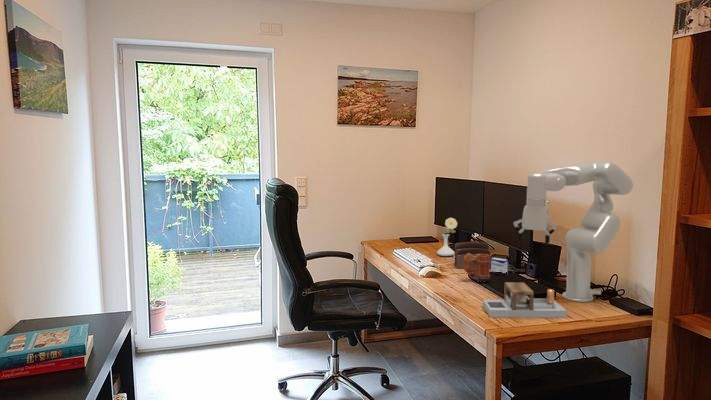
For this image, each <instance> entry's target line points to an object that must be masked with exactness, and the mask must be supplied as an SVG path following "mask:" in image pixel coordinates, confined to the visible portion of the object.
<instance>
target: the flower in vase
mask: <svg viewBox="0 0 711 400" xmlns="http://www.w3.org/2000/svg"><path fill="white" fill-rule="evenodd" d="M444 225H445V227H446V229H447V228H448V229H449V230H448V231H446V230H444V229H442V232H444V233H442V234H441V235H442V238H443V246H441V248H439V249H438V250H437V251H436V254H437V255H438V256H441V257H451V256H455V250H453V249H452V248H450V246H449V245H448V240H449V236H450V234H449V232H450V233H451V234H454V233H456V232H457V231H456V230H455V228H457V226H458V222H457V220H456V218H454V217H449V218H447V219H445V222H444Z"/></svg>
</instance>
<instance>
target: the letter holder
mask: <svg viewBox="0 0 711 400" xmlns="http://www.w3.org/2000/svg"><path fill="white" fill-rule="evenodd" d="M454 253H455V254H454V266H455V268H456V269H457V270H459V269H460V270H461V269H462V270H464V268H463V258H464V256H465V255H466V254H467V253H470V254H471V255H473V256H476V254H488V255H489V260H490V261H491V259H492V258H493V257H492V255H491V250H490V244H489V243H488V242H482V241H481V242H480V241H464V242H456V243H455V245H454ZM468 264H469V267H470V268H471V269H472V268H475V263H474V260H472V261H471V262H469V263H468ZM489 270H491V263H490V264H489Z"/></svg>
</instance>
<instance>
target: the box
mask: <svg viewBox="0 0 711 400" xmlns="http://www.w3.org/2000/svg"><path fill="white" fill-rule="evenodd" d="M508 261H509V260H508V259H507V258H502V257H501V258H500V257H492V259H491V269H490V273H491V272H502V273H506V272H507V273H508V264H509V263H508Z"/></svg>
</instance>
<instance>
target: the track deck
mask: <svg viewBox="0 0 711 400" xmlns="http://www.w3.org/2000/svg"><path fill="white" fill-rule="evenodd" d="M533 304H547V302H533ZM554 304H555V305H556V308H533V310H529V308H516V310H512V307H510V306H509V305H508V303H507V302H506V301H505V300H504V299H482V307H483V310H484V311H485V312H486V313H487V315H488V317H489V318H506V319H507V318H511V319H512V318H516V319H517V318H519V319H521V318H522V319H523V318H525V319H528V318H530V319H531V318H533V319H534V318H535V319H543V318H544V319H545V318H546V319H567V310H566V308H564V307H563V306H562V305H561V304H559V302H557V301H556V300H555V299H554Z"/></svg>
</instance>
